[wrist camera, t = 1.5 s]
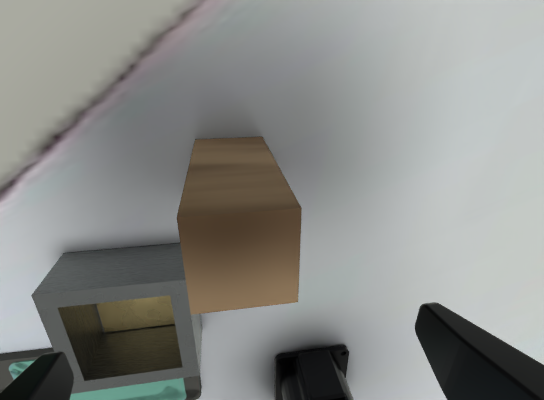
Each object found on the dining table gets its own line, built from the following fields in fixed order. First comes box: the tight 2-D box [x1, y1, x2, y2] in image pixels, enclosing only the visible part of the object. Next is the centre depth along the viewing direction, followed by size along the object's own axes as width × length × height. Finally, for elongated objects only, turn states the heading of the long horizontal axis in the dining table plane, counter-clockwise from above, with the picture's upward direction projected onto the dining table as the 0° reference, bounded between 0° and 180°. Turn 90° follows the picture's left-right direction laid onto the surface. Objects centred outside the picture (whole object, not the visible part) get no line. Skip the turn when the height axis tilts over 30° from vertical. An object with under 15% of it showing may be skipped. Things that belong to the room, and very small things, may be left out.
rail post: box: [177, 137, 301, 315], centre depth 16 cm, size 4×4×10 cm
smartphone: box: [0, 348, 201, 400], centre depth 25 cm, size 7×1×15 cm
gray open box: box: [32, 243, 202, 394], centre depth 21 cm, size 8×8×4 cm
